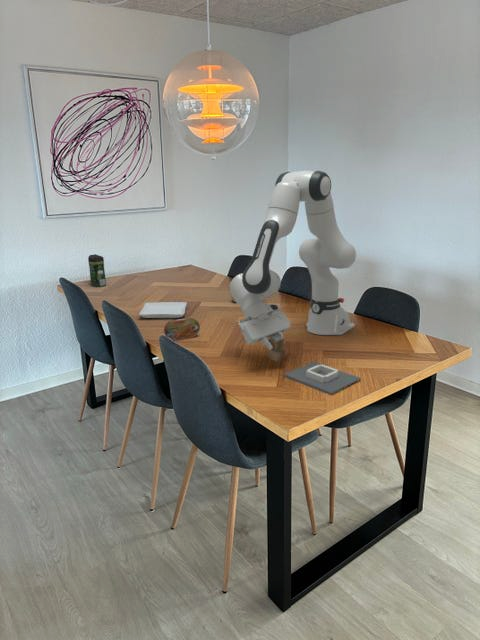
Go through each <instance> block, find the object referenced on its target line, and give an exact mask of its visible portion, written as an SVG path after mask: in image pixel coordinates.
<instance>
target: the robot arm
mask: <svg viewBox="0 0 480 640" xmlns="http://www.w3.org/2000/svg"><path fill="white" fill-rule="evenodd" d="M331 191H332V180H331V177H330V176H329V174H328V173H326V172H324V171H321V170H304V169H303V170H297V171H286V172H283V173H280V174H279V175H278V177H277V179H276V181H275V184H274V188H273V191H272V194H271V196H270V199H269V202H268V206H267V209H266V214H265V216H264V217H265V218H264V221H263V225H262V227H261V229H260V232H259V235H258V237H257V242H256V243H255V248H254V250H253V253H252V256H251V260H250V261H249V263H248V264H247V266H246V268H245V269H244V271H243V273H241V272H240V273H238V274H237V275H235V276H234V277H233V278H232V279H231V281H230V283H229V291H230V293H231V294H232V295H233V297H234V299H235V301H236V302H235V301H234V302H235V303H236V304H237V306H238V307H239V308H240V309H241V311H242V314H243V316H244V319H240V320H239V322H238V327H239V329H240V330H241V333H242V335H243V338H244V340H245V342H246V343H247V344H248V345H252V344H255V343H258V342H261V344H263V345H264V346H265V347H267V349H269V350H271V349H273V348H274V345H273V343H270V342H269V341H268V339H270V337H272V336H275V335H277V336H280V337H283V338H284V334H283V333H285V332H287V331H288V330H289V329H290V328H291V322H290V320H289V318H288V317H287V316H286V314H285V313H284V312H283V311H281V307H280V305H279V304H276V303H275V304H273V303H267V302H265V299H267V298H270V297H271V296H273V295H275V294H277V293H278V292H279V290H280V288H281V285H282V281H281V280H282V279H281V278H280V275H279V274H278V273H277V272H275V271H273V270H271V269H270V263H271V259H272V256H273V254H274V250H275V246H276V244H277V243H278V241H279V240H280V239H282V238H285V237H287V236H288V235H290V234H291V233H292V231H293V230H294V228H295V225H296V222H297V218H298V213H299V208H300V203H301V202H304V210H305V216H306V222H307V226H308V227H307V228H308V230H309V233H311V234H312V235H313V236H315V237H316V238H309V239H305V240H303V241H302V242H301V244H300V245H299V248H298V254H299V259H301V261H302V262H303V263H304V264H305V266H306V267H307V270H308V272H309V275H310V280H311V298H310V308H309V310H308V318H307V319H308V320H307V322H306V323H305V326H306V331H307V332H309V333H311V334H314V335H319V336H342V335H343V334H345V333H348V331H351V329H353V328H355V327H356V326H355V323H354V322H351V321H350V314H349V312H348V311H346V310H345V309H344V308H343V307H341V304H344V301H345V299H344V298H343V297H339V289H340V288H339V287H340V286H339V285H340V284H339V280H338V278H337V277H336V276H335V275H334V274H333V273H332V270H331V269H335V270H336V269H337V270H338V269H339V270H340V269H349V268H351V267H352V266H353V265H354V263H355V261H356V258H357V253H356V252H357V251H356V249H355V247H354V246H353V245H352V244H351V243H349V241H348V240H347V239H346V238H345V237H344V235H343V234H342V232H341V230H340V228H339V227H338V224H337V218H336V214H335V208H334V207H335V206H334V200H333V196H332V193H331ZM285 344H286V341H285V340H284V345H285Z"/></svg>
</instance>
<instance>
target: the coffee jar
mask: <svg viewBox="0 0 480 640" xmlns="http://www.w3.org/2000/svg"><path fill="white" fill-rule="evenodd" d="M87 259H88V261H87V262H88V268H89V277H90V278H89V279H90V285H91V286H92V287H96V288H97V287H99V286H102V287H104V285H105V286H106V285H107V280H106V279H107V278H106V274H105V273H106V272H105V259H104V256H102V255H98V254H89V256H88V257H87ZM99 288H100V287H99Z"/></svg>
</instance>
